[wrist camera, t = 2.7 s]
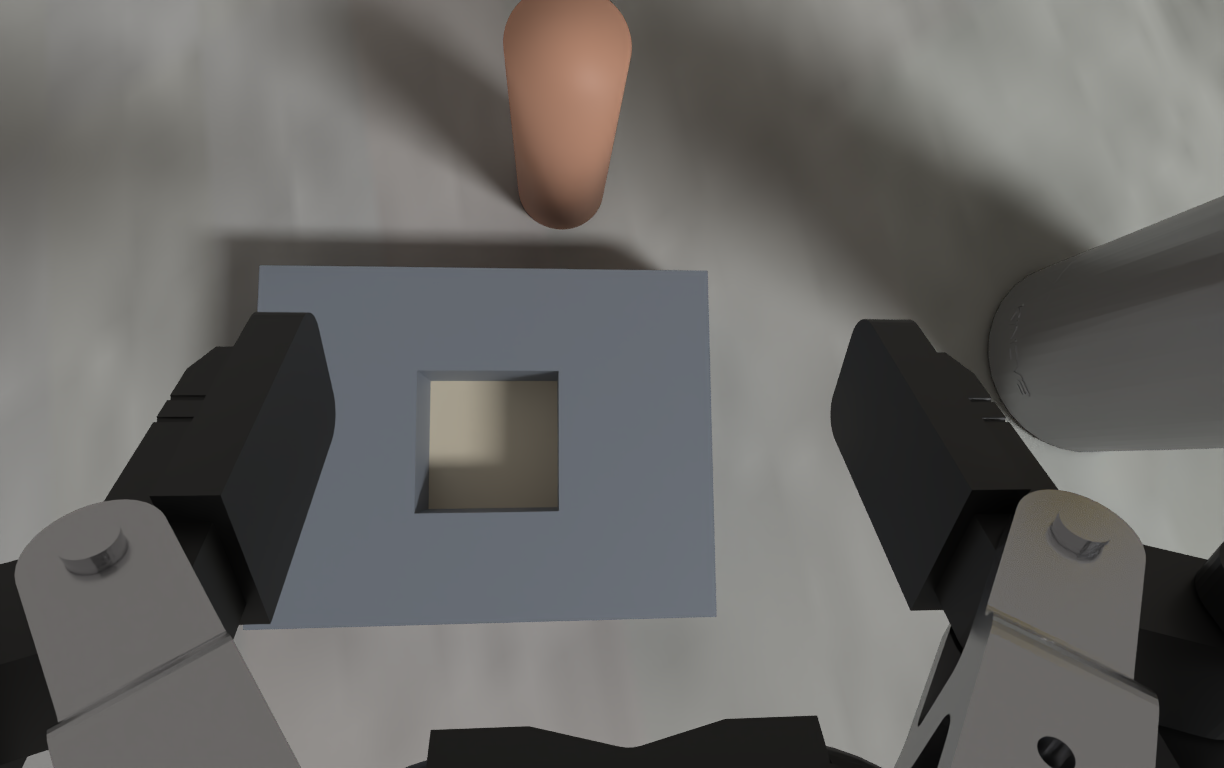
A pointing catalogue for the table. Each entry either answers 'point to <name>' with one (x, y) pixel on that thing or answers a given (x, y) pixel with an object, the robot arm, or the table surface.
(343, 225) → the table surface
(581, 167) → the peg
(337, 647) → the table surface
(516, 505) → the socket block
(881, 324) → the robot arm
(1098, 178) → the table surface
